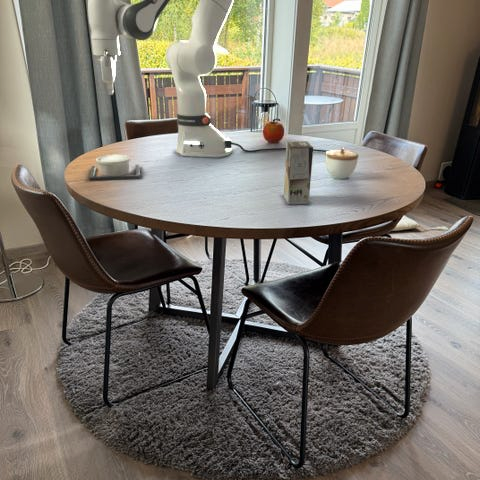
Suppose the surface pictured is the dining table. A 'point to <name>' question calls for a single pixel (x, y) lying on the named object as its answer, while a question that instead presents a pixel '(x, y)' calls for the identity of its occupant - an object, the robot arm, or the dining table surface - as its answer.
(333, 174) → the trinket box
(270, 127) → the fruit
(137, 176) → the bay
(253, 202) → the dining table surface
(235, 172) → the dining table surface
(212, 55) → the robot arm
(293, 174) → the coffee box
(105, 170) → the ramekin
